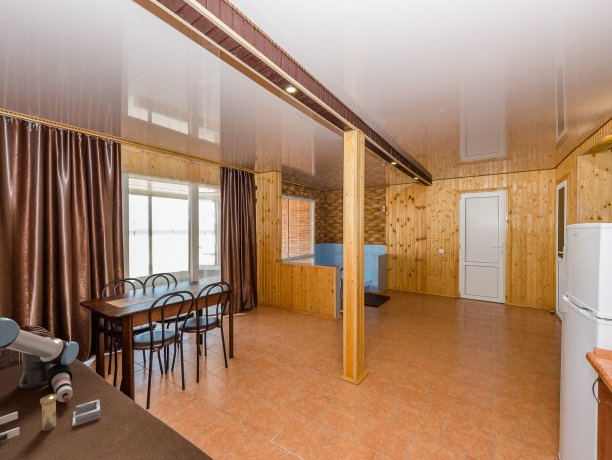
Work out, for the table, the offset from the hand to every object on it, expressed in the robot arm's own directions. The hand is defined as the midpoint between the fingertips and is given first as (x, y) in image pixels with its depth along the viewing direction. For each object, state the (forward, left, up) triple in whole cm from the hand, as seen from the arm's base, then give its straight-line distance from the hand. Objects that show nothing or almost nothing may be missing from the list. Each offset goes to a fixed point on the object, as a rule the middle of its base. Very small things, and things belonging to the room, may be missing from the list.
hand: (18, 422), depth 121 cm
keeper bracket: (-2, +22, -7) cm, 23 cm away
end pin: (-2, +9, -7) cm, 12 cm away
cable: (-29, +13, -6) cm, 32 cm away
